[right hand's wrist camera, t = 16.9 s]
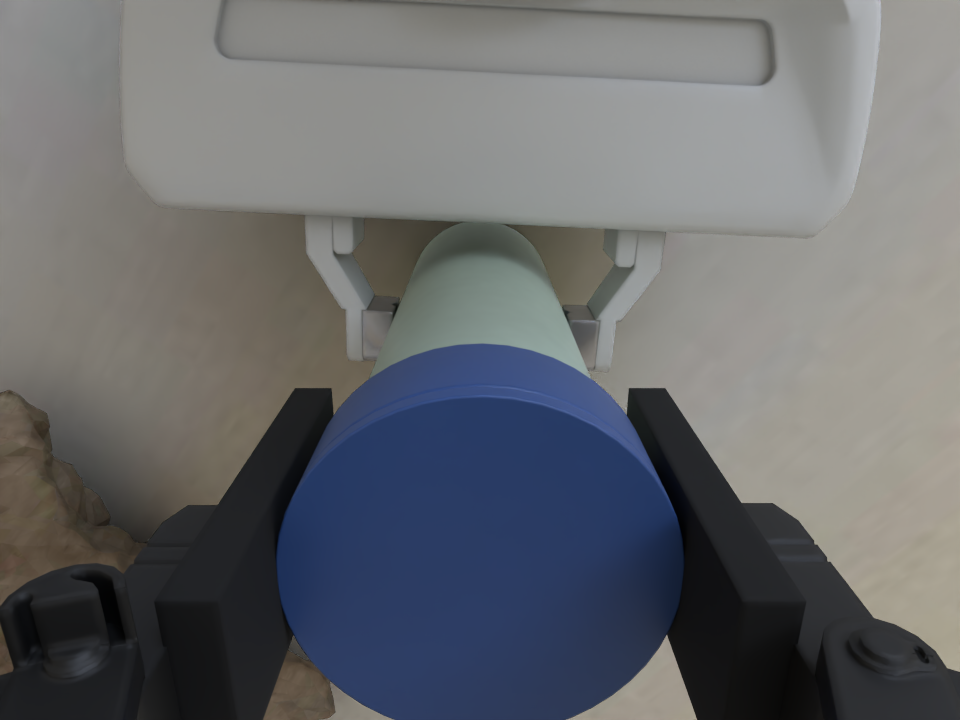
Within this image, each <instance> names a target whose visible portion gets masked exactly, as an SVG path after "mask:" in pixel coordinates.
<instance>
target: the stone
mask: <svg viewBox="0 0 960 720" xmlns="http://www.w3.org/2000/svg"><path fill="white" fill-rule="evenodd" d="M49 427H50V425H49V421H48V416H47V413H45V412H44V411H42V410H39V409H37V408H35V407H34V406H32V405H30V404H29V403H27V402H26V401H25V400H24V399H23V398H22V397H21V396H20V395H18V394H17V393H15V392H13V391H11V390H8V391H5V392H2V393H0V606H1V604H2V603H3V602H4V601H5V599H6V598H7V597H8V596H9V595H10V594H12V593H13V592H14V591H16V590H17V589H18V588H20V587H21V586H23V585H24V584H25V583H27V582H28V581H31V580H33V579H35V578H37V577H39V576H41V575H44V574H46V573H48V572H50V571H53V570H57V569H61V568H64V567H68V566H72V565H76V564H90V563H99V564H104V565H109V566H114V567H115V568H117V569H118V570H119V571H120V572H121V573H124V572H125V571H126V570H127V568H128V567H129V566H130V564H134V559H135V558H136V557H137V555H138V554H139V553H140V551H141V550H142V549H143V547H147V543H137V542H134V540H133V539H132V538H131V536H130V535H129V534H128V533H127V532H125V531H124V530H122V529H121V528H118V527H115V526H107V525H108V523H109V520H110V515H109V513H108V511H107V509H106V507H105V505H104V503H103V501H102V499H101V498H100V497H99V496H98V495H97V494H96V493H95V492H94V491H92V490H91V489H89V488H86V487H84V486H83V482H82V478H81V477H79V476H78V474H77V472H76V471H75V469H74V467H73V465H72V464H68V463H64V462H62V461H60V460H58V459H56V458H54V457H53V455H52V454H51V451H52V445H51V439H50V433H49ZM13 669H14V668H13V664H12V661H11V658H10V654H9V651H8V648H7V644H6V641H5V638H4V635H3V631H2V628H1V625H0V675H2V674H6V673H9V672H12V671H13ZM334 713H335V707H334V700H333V695H332V692H331V688H330V680H328V679H327V678H326V677H325V676H324V675H323V674H322V673H321V671H320V670H319V669H318V668H316V667H315V665H314V664H313V663H312V662H311V661H309V660H304V659H302V658H301V657H299V656H298V655H296V654H294V653H292V652H290V651H287V654H286V656H285V659H284V662H283V665H282V668H281V671H280V673H279V676H278V679H277V682H276V685H275V687H274V690H273V693H272V696H271V699H270V701H269V704H268V707H267V710H266V713H265V716H264V718H263V720H319V719H326V718H329V717H331V716H332V715H333V714H334Z"/></svg>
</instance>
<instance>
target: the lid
mask: <svg viewBox="0 0 960 720" xmlns="http://www.w3.org/2000/svg"><path fill="white" fill-rule="evenodd" d="M684 563H685V557H684V546H683V538H682V534H681V530H680V526H679V523H678V519H677V516H676V514H675V511H674V509H673V507H672V504H671V502H670V500H669V498H668V495H667V493H666V491H665V489H664V487H663V485H662V483H661V481H660V479H659V477H658V475H657V473H656V471H655V469H654V467H653V465H652V462H651V460H650V458H649V456H648V454H647V452H646V450H645V448H644V446H643V444H642V442H641V440H640V438H639V436H638V434H637V432H636V430H635V428H634V427H633V425H632V423H631V422H630V420H629V419H628V417H627V415H626V414H625V412H624V411H623V410H622V409H621V407H620V406H619V405H618V404H617V403H616V402H615V400H614V399H613V398H612V397H611V396H610V395H609V394H608V393H607V392H606V391H605V390H603V389H602V388H601V387H600V386H599V385H598V384H597V383H596V382H594V381H593V380H592V379H590V378H589V377H587V376H586V375H584V374H583V373H581V372H580V371H578V370H577V369H575V368H573V367H571V366H569V365H567V364H565V363H563V362H561V361H559V360H557V359H555V358H553V357H550V356H547V355H544V354H541V353H538V352H535V351H532V350H528V349H523V348H518V347H513V346H508V345H497V344H484V343H481V344H460V345H453V346H448V347H442V348H436V349H432V350H429V351H426V352H422V353H419V354H416V355H413V356H410V357H408V358H406V359H404V360H401V361H399V362H397V363H395V364H392V365H390V366H389V367H387V368H385V369H384V370H382V371H381V372H379V373H377V374H376V375H374V376H373V377H371V378H370V379H369V380H367V381H366V382H365V383H364V384H363V385H361V386H360V387H359V388H358V389H357V390H355V391H354V392H353V393H352V394H351V395H350V396H349V397H348V399H347V400H346V401H345V402H344V403H343V404H342V405H341V406H340V407H339V409H338V410H337V412H336V413H335V414H334V416H333V417H332V419H331V420H330V422H329V423H328V425H327V427H326V429H325V431H324V433H323V435H322V437H321V439H320V441H319V443H318V445H317V447H316V449H315V451H314V453H313V455H312V458H311V460H310V462H309V464H308V466H307V468H306V470H305V472H304V474H303V476H302V478H301V480H300V482H299V484H298V487H297V489H296V491H295V493H294V495H293V497H292V499H291V501H290V503H289V505H288V507H287V509H286V511H285V514H284V518H283V521H282V524H281V528H280V531H279V534H278V542H277V549H276V569H277V578H278V586H279V594H280V601H281V606H282V609H283V611H284V614H285V617H286V620H287V623H288V625H289V627H290V629H291V631H292V633H293V635H294V636H295V638H296V640H297V642H298V644H299V645H300V647H301V648H302V649H303V651H304V652H305V654H306V655H307V656H308V658H309V659H310V661H311V662H312V663H313V664H314V665H315V666H316V667H317V668H318V669H319V670H320V671H321V673H322V674H323V675H324V676H325V677H326V678H327V679H328V680H330V681H331V682H332V683H333V684H334V685H336V686H337V687H338V688H339V689H340V690H342V691H343V692H344V693H346V694H347V695H349V696H350V697H352V698H353V699H355V700H356V701H358V702H359V703H361V704H362V705H364V706H366V707H368V708H370V709H372V710H374V711H376V712H378V713H380V714H382V715H384V716H386V717H389V718H392V719H394V720H566V719H569V718H572V717H574V716H576V715H578V714H580V713H582V712H584V711H586V710H588V709H591V708H593V707H594V706H596V705H597V704H599V703H601V702H602V701H604V700H605V699H607V698H609V697H610V696H612V695H613V694H614V693H616V692H617V691H618V690H620V689H621V688H622V687H623V686H625V685H626V684H627V683H628V682H630V681H631V680H632V679H633V678H634V677H635V676H636V675H637V674H638V673H639V672H640V671H641V670H642V669H643V668H644V667H645V666H646V664H647V663H648V662H649V660H650V659H651V658H652V656H653V655H654V654H655V653H656V651H657V650H658V649H659V647H660V646H661V644H662V642H663V640H664V638H665V637H666V635H667V633H668V631H669V630H670V628H671V625H672V623H673V620H674V618H675V615H676V612H677V610H678V607H679V603H680V596H681V589H682V581H683V572H684Z"/></svg>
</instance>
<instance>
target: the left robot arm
mask: <svg viewBox="0 0 960 720" xmlns="http://www.w3.org/2000/svg"><path fill="white" fill-rule="evenodd" d="M880 32H881V0H121V12H120V37H119V99H120V121H121V137H122V148H123V157H124V162H125V166H126V168H127V171H128V173H129V174H130V175H131V177H132V178H133V179H134V180H135V181H136V183H137V184H138V185H139V186H140V187H141V189H142V190H143V191H144V192H145V193H146V194H147V196H148V197H149V198H150V199H151V200H152V201H153V202H154V203H155V204H156V205H158V206H160V207H163V208H174V209H194V210H215V211H236V212H257V213H278V214H299V215H305V239H306V254H307V255H308V257H309V259H310V260H311V262H312V263H313V265H314V267H315V268H316V270H317V271H318V273H319V274H320V276H321V278H322V279H323V281H324V282H325V284H326V285H327V287H328V289H329V290H330V292H331V293H332V295H333V296H334V298H335V300H336V301H337V303H338V304H339V306H340V308H341V309H345V310H346V351H347V357H348V360H354V361H376V360H377V358H378V355H379V353H380V351H381V348H382V346H383V343H384V341H385V338H386V336H387V334H388V331H389V329H390V326H391V324H392V321H393V319H394V317H395V314H396V312H397V309H398V307H399V297H386V296H374V295H375V294H374V292H373V290H372V288H371V287H370V285H369V283H368V281H367V279H366V278H365V276H364V274H363V272H362V270H361V269H360V267H359V265H358V263H357V261H356V260H355V258H354V256H353V254H352V251H353V250H354V249H355V248H356V247H357V246H358V245H359V244H360V243H361V241H362V240H363V239H364V218H384V219H405V220H426V221H447V222H469V223H490V224H511V225H532V226H553V227H574V228H595V229H605V235H604V245H603V250H604V251H605V253H606V254H607V255H608V256H609V257H610V258H611V259H612V261H613V262H614V263H615V264H614V265H613V267H612V268H611V270H610V271H609V273H608V274H607V276H606V277H605V278H604V280H603V281H602V283H601V284H600V286H599V287H598V289H597V290H596V291H595V293H594V294H593V296H592V297H591V299H590V300H589V302H588V303H587V305H563V307H562V310H563V312H564V315H565V317H566V320H567V322H568V324H569V327H570V329H571V332H572V334H573V336H574V339H575V341H576V344H577V346H578V349H579V351H580V353H581V356H582V358H583V361H584V363H585V365H586V368H587V370H588V371H603V372H608V371H609V369H610V366H611V361H612V353H613V345H614V337H615V328H616V321H621V320H622V319H623V318H624V316H625V315H626V314H627V312H628V311H629V310H630V309H631V307H632V306H633V305H634V303H635V302H636V301H637V300H638V298H639V297H640V296H641V294H642V293H643V292H644V291H645V289H646V288H647V287H648V285H649V284H650V283H651V282H652V280H653V279H654V278H655V277H656V275H657V274H658V273H659V271H660V270H661V263H662V256H663V249H664V243H665V236H666V232H680V233H701V234H722V235H743V236H765V237H786V238H811V237H814V236H815V235H817V234H818V233H819V232H820V231H822V230H823V229H824V228H825V227H826V226H827V225H828V224H829V223H830V222H831V221H832V220H833V219H834V218H835V217H836V216H837V215H838V214H839V213H840V212H841V211H842V210H843V209H844V208H845V207H846V205H847V204H848V202H849V200H850V199H851V196H852V193H853V191H854V188H855V184H856V181H857V177H858V173H859V168H860V164H861V160H862V155H863V150H864V145H865V140H866V135H867V130H868V124H869V118H870V113H871V107H872V100H873V93H874V86H875V78H876V70H877V62H878V53H879V44H880Z"/></svg>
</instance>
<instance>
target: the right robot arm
mask: <svg viewBox="0 0 960 720" xmlns="http://www.w3.org/2000/svg"><path fill="white" fill-rule="evenodd" d="M333 416H334V414H333V402H332V390H331V388H295V389H294V391H293V392H292V394H291V395H290V397H289V398H288V400H287V401H286V403H285V404H284V406H283V407H282V409H281V410H280V412H279V413H278V415H277V416H276V418H275V419H274V421H273V423H272V424H271V426H270V427H269V429H268V430H267V432H266V433H265V435H264V436H263V438H262V439H261V441H260V442H259V444H258V445H257V447H256V448H255V450H254V451H253V453H252V454H251V456H250V457H249V459H248V460H247V462H246V463H245V465H244V466H243V468H242V469H241V471H240V472H239V474H238V475H237V477H236V478H235V480H234V481H233V483H232V484H231V486H230V487H229V489H228V490H227V492H226V493H225V495H224V496H223V498H222V499H221V501H220V502H219V504H218V505H188V506H186V507H185V508H183V509H182V510H180V511H179V512H177V513H176V514H175V515H173V516H172V517H170V518H169V519H167V520H166V521H164V522H163V523H162V524H161V525H160V527H159V528H158V529H157V531H156V532H155V533H154V534H153V536H152V537H151V538H150V540H149V541H148V542H147V547H143V549H142V550H141V551H140V553H139V554H138V555H137V557H136V558H135V559H134V564H130V566H129V567H128V568H127V570H126V571H125V572H124V573H121V572H120V571H119V570H118V569H117V568H115V567H114V566H109V565H104V564H99V563H90V564H76V565H72V566H68V567H64V568H61V569H57V570H53V571H50V572H48V573H46V574H44V575H41V576H39V577H37V578H35V579H33V580H31V581H28V582H27V583H25V584H24V585H23V586H21V587H20V588H18V589H17V590H16V591H14V592H13V593H12V594H10V595H9V596H8V597H7V598H6V599H5V601H4V602H3V603H2V604H1V606H0V625H1V628H2V631H3V635H4V638H5V641H6V644H7V648H8V651H9V654H10V658H11V661H12V664H13V668H14V669H13V671H12V672H9V673H6V674H2V675H0V720H263V718H264V716H265V713H266V710H267V707H268V704H269V701H270V699H271V696H272V693H273V690H274V687H275V685H276V682H277V679H278V676H279V673H280V671H281V668H282V665H283V662H284V659H285V656H286V654H287V651H288V648H289V645H290V642H291V640H292V637H293V633H292V631H291V629H290V627H289V625H288V623H287V620H286V617H285V614H284V611H283V609H282V606H281V601H280V594H279V586H278V578H277V569H276V549H277V542H278V534H279V531H280V528H281V524H282V521H283V518H284V514H285V511H286V509H287V507H288V505H289V503H290V501H291V499H292V497H293V495H294V493H295V491H296V489H297V487H298V484H299V482H300V480H301V478H302V476H303V474H304V472H305V470H306V468H307V466H308V464H309V462H310V460H311V458H312V455H313V453H314V451H315V449H316V447H317V445H318V443H319V441H320V439H321V437H322V435H323V433H324V431H325V429H326V427H327V425H328V423H329V422H330V420H331V419H332V417H333ZM627 417H628V419H629V420H630V422H631V423H632V425H633V427H634V428H635V430H636V432H637V434H638V436H639V438H640V440H641V442H642V444H643V446H644V448H645V450H646V452H647V454H648V456H649V458H650V460H651V462H652V465H653V467H654V469H655V471H656V473H657V475H658V477H659V479H660V481H661V483H662V485H663V487H664V489H665V491H666V493H667V495H668V498H669V500H670V502H671V504H672V507H673V509H674V511H675V514H676V516H677V519H678V523H679V526H680V530H681V534H682V538H683V546H684V557H685V563H684V572H683V581H682V589H681V596H680V603H679V607H678V610H677V612H676V615H675V618H674V620H673V623H672V625H671V628H670V630H669V631H668V633H667V636H668V639H669V641H670V644H671V647H672V650H673V653H674V655H675V658H676V661H677V664H678V667H679V669H680V672H681V675H682V678H683V681H684V684H685V686H686V689H687V692H688V695H689V698H690V700H691V703H692V706H693V709H694V712H695V714H696V717H697V720H960V672H958V671H954V670H951V669H948V668H947V667H946V666H945V665H944V663H943V662H942V660H941V659H940V657H939V656H938V654H937V653H936V651H935V650H933V649H932V648H931V647H930V646H929V645H927V644H926V643H925V642H924V641H922V640H921V639H920V638H919V637H918V636H916V635H914V634H912V633H910V632H908V631H906V630H904V629H902V628H901V627H899V626H897V625H895V624H891V623H888V622H885V621H882V620H878V619H875V618H873V616H872V615H871V614H870V612H869V611H868V610H867V609H866V607H865V606H864V605H863V603H862V602H861V601H860V600H859V598H858V597H857V596H856V594H855V593H854V592H853V591H852V589H851V588H850V587H849V585H848V584H847V583H846V581H845V580H844V579H843V578H842V576H841V575H840V574H839V572H838V571H837V570H836V569H835V567H834V566H833V565H832V563H831V562H827V557H826V556H825V554H824V553H823V552H822V550H821V549H820V548H819V547H818V545H814V540H813V539H812V538H811V536H810V535H809V534H808V532H807V531H806V530H805V528H804V527H803V526H802V525H801V523H800V522H799V521H798V520H797V519H795V518H794V517H792V516H791V515H789V514H788V513H786V512H785V511H783V510H782V509H781V508H779V507H778V506H776V505H775V504H773V503H741V502H740V500H739V499H738V497H737V496H736V494H735V493H734V491H733V490H732V488H731V487H730V485H729V484H728V482H727V481H726V479H725V478H724V476H723V475H722V473H721V472H720V470H719V469H718V467H717V466H716V464H715V463H714V461H713V460H712V458H711V457H710V455H709V454H708V452H707V451H706V449H705V448H704V446H703V445H702V443H701V441H700V440H699V438H698V437H697V435H696V434H695V432H694V431H693V429H692V428H691V426H690V425H689V423H688V422H687V420H686V419H685V417H684V416H683V414H682V413H681V411H680V410H679V408H678V407H677V405H676V404H675V402H674V401H673V399H672V398H671V396H670V395H669V393H668V392H667V390H666V389H665V388H629V394H628V407H627Z"/></svg>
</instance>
